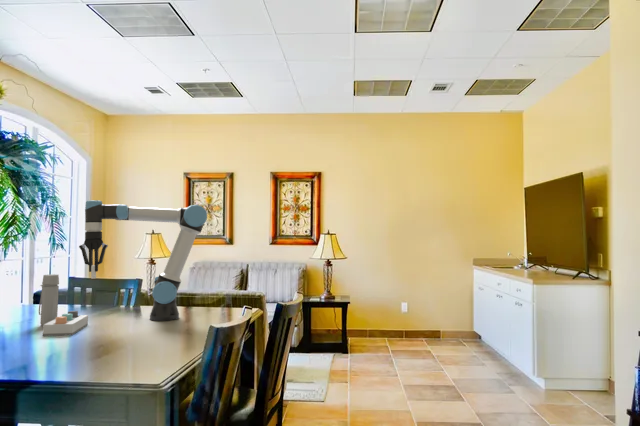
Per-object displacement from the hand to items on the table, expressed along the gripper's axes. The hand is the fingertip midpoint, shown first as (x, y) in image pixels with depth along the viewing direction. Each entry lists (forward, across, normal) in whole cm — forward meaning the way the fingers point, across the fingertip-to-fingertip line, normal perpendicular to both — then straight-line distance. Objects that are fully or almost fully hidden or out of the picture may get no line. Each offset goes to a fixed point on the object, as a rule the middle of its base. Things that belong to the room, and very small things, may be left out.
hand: (93, 278), depth 214 cm
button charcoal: (+21, +10, -1) cm, 23 cm away
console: (+24, +10, +7) cm, 26 cm away
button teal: (+21, +10, +7) cm, 24 cm away
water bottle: (+23, +23, -9) cm, 34 cm away
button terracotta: (+21, +10, +14) cm, 27 cm away
